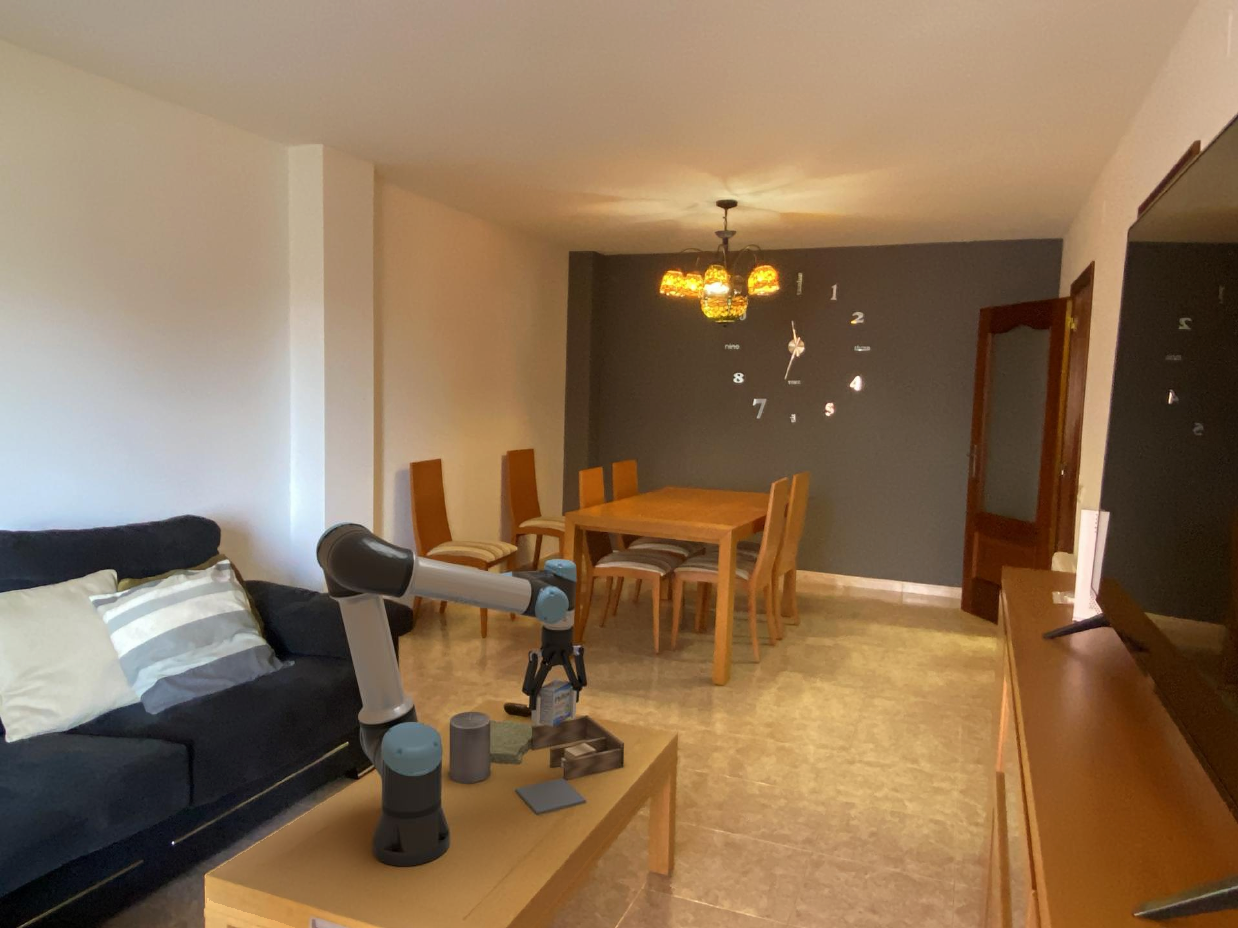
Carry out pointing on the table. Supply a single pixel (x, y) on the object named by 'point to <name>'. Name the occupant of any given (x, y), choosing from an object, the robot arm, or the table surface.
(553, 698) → the medicine box
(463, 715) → the pillar candle
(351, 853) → the table surface
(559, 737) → the rack
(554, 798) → the mat
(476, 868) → the table surface
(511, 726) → the green stone slab
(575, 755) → the offcut short
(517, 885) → the table surface
